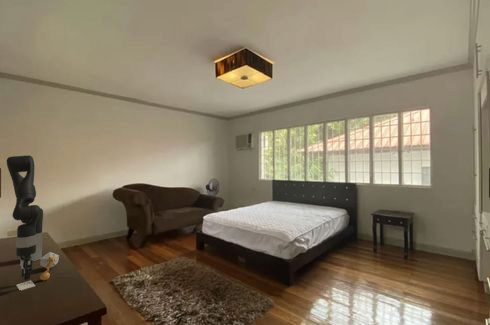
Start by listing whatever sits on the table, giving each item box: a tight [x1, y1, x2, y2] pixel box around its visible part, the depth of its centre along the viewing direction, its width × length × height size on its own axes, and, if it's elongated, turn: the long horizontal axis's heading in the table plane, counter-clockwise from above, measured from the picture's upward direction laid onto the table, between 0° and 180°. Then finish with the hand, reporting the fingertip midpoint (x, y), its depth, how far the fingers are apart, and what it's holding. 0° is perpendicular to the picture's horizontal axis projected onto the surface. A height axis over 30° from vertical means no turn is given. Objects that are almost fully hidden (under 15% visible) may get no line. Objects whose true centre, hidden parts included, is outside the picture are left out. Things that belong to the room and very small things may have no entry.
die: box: [39, 251, 60, 270], centre depth 141 cm, size 8×9×10 cm
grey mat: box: [15, 280, 36, 291], centre depth 121 cm, size 9×6×1 cm, turn 52°
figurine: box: [39, 256, 55, 281], centre depth 128 cm, size 8×6×12 cm
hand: (25, 277), depth 121 cm, fingers open, 5 cm apart
